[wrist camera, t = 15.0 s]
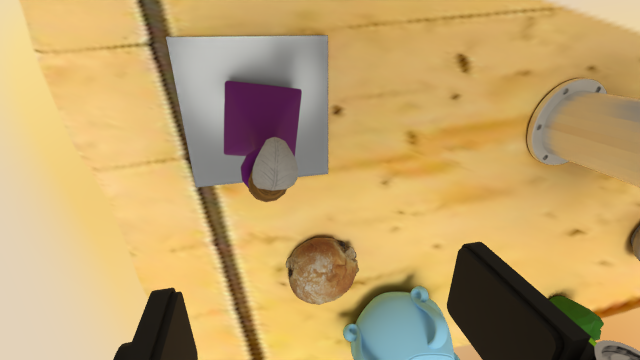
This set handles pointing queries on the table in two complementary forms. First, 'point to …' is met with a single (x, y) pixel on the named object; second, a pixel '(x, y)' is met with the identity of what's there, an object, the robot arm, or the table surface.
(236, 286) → the table surface
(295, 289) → the bread roll
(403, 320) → the decorative pot
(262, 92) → the perfume bottle
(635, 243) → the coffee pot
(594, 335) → the bell pepper
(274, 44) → the slate tile
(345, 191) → the table surface
